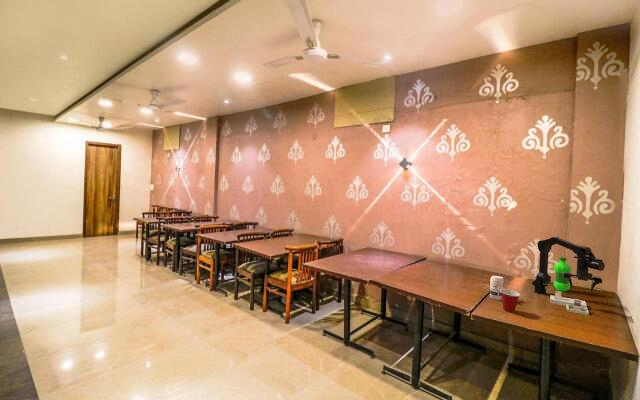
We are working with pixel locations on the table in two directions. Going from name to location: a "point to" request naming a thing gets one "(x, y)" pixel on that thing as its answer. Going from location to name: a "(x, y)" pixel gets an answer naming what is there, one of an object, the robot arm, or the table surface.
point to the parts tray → (577, 310)
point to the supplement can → (496, 287)
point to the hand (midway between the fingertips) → (581, 290)
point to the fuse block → (565, 301)
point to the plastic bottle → (561, 275)
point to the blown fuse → (577, 304)
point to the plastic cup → (509, 299)
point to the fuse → (557, 295)
